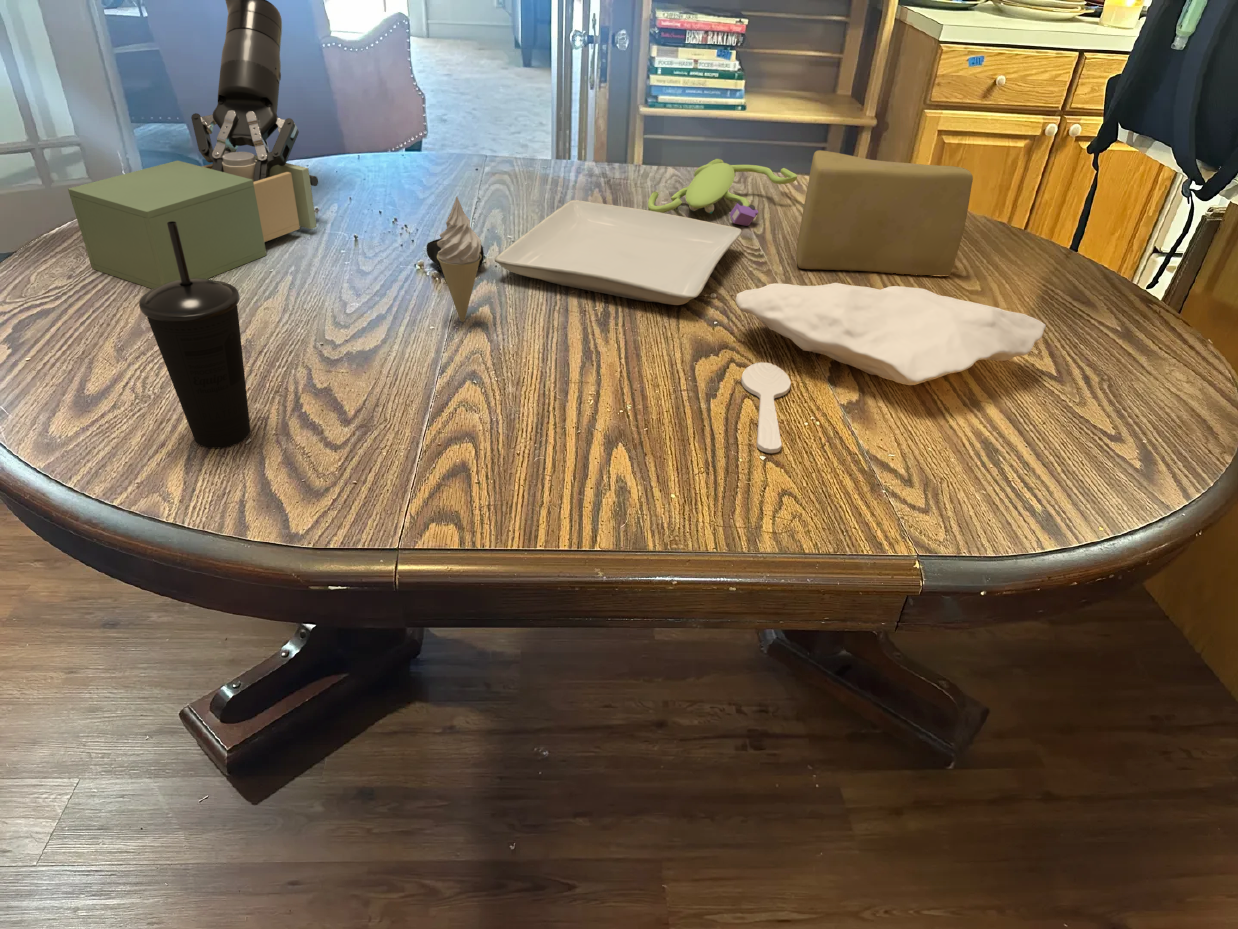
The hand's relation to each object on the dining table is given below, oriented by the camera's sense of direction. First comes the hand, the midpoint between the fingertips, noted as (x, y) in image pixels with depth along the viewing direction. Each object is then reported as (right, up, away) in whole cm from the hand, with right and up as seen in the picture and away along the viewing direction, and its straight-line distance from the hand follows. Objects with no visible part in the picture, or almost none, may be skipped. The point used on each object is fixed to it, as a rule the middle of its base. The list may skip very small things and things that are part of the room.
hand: (239, 189), depth 114 cm
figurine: (+69, +7, +31) cm, 75 cm away
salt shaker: (0, -2, +4) cm, 4 cm away
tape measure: (+29, -11, 0) cm, 31 cm away
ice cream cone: (+32, -20, -13) cm, 40 cm away
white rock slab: (+81, -25, -15) cm, 86 cm away
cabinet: (-6, -11, -3) cm, 13 cm away
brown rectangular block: (+88, -8, +10) cm, 89 cm away
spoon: (+66, -31, -25) cm, 77 cm away
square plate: (+52, -9, +5) cm, 53 cm away
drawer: (0, -4, +6) cm, 7 cm away
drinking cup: (+14, -34, -35) cm, 51 cm away
